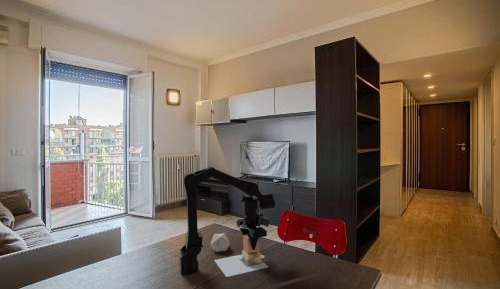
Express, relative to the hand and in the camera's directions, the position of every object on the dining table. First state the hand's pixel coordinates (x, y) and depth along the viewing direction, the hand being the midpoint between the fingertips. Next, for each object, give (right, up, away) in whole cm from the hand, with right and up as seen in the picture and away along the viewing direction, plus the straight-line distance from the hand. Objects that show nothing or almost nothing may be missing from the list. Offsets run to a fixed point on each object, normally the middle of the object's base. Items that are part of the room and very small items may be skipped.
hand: (251, 247), depth 112 cm
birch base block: (0, -6, 0) cm, 6 cm away
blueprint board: (-4, -7, -2) cm, 8 cm away
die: (-15, -7, +13) cm, 21 cm away
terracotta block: (0, -1, 0) cm, 1 cm away
